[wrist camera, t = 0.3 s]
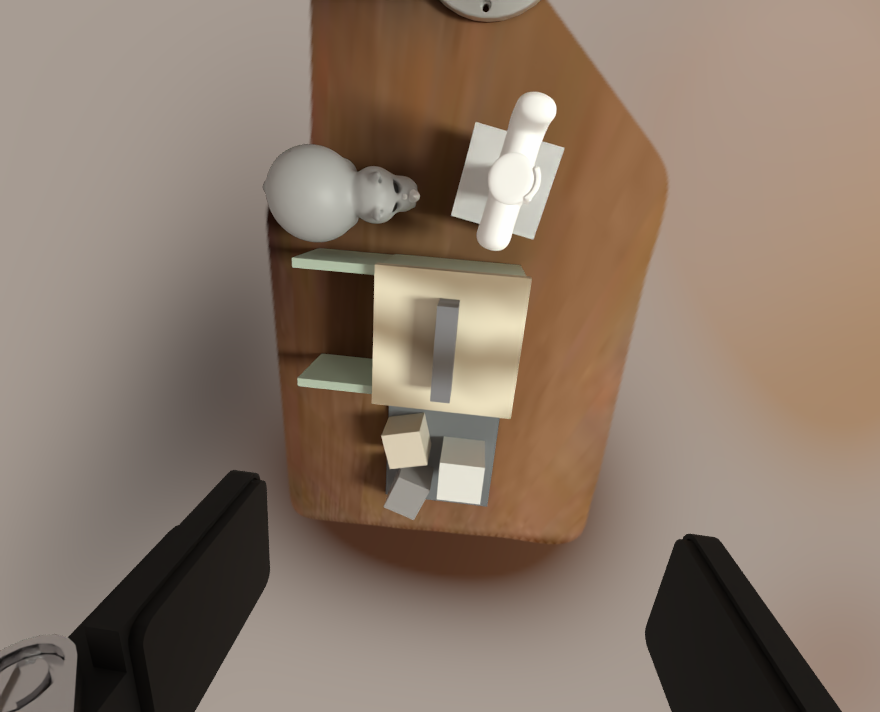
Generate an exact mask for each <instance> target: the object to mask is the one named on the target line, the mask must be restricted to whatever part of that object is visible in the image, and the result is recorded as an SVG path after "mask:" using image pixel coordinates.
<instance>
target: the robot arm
mask: <svg viewBox="0 0 880 712" xmlns="http://www.w3.org/2000/svg"><path fill="white" fill-rule="evenodd" d="M440 1H441V2H442V3H443V4H444V5H445V6H446V7H447V8H449V9H450V10H452V11H453V12H455V13H457V14H458V15H460V16H463V17H466V18H468V19H471V20H475V21H483V22H494V21H503V20H506V19H509V18H512V17H515V16H518V15H520V14H522V13H523V12H525V11H527V10H529V9H530V8H532V7H534V6H535V5H536V4H537V3H538V2H539V1H540V0H440ZM484 6H488V7H489V11H488V12H484V11H483V7H484ZM269 573H270V561H269V536H268V512H267V488H266V483H265V481H262V480H260V477H259V475H258V474H257V473H251V472H245V471H237V470H233V471H230V472H229V473H228V474H227V475H226V476H225V477H224V478H223V479H222V480H221V481H220V482H219V483H218V484H217V485H216V487H215V488H214V489H213V490H212V491H211V492H210V493H209V494H208V495H207V496H206V497H205V498H204V499H203V500H202V501H201V502H200V503H199V504H198V506H197V507H196V508H195V509H194V510H193V511H192V512H191V513H190V514H189V515H188V516H187V517H186V518H185V519H184V520H183V521H182V522H181V524H180V525H178V526H175V527H174V528H173V529H172V530H171V531H169V532H168V533H167V534H166V535H165V537H164V538H163V539H162V540H161V541H160V542H159V543H158V544H157V545H156V546H155V547H154V548H153V549H152V550H151V551H150V552H149V553H148V554H147V555H146V556H145V558H144V559H143V560H142V561H141V562H140V563H139V564H138V565H137V566H136V567H135V568H134V569H133V570H132V571H131V572H130V573H129V574H128V575H127V576H126V577H125V578H124V580H122V582H120V584H119V585H118V586H117V587H116V588H115V589H114V590H113V591H112V592H111V593H110V594H109V595H108V596H107V597H106V598H105V599H104V600H103V601H102V602H101V603H100V604H99V605H98V607H97V608H96V609H95V610H94V611H93V612H92V613H91V614H90V615H89V616H88V617H87V618H86V619H85V620H84V621H83V622H82V623H81V624H80V625H79V626H78V627H77V628H76V630H75V631H74V632H73V633H72V634H71V635H70V636H69V637H64V636H61V635H57V634H52V635H39V636H36V637H32V638H28V639H25V640H22V641H19V642H17V643H15V644H13V645H10V646H8V647H6V648H4V649H2V650H0V712H195V710H196V708H197V707H198V705H199V703H200V701H201V699H202V698H203V696H204V694H205V693H206V691H207V689H208V687H209V685H210V684H211V682H212V680H213V679H214V677H215V675H216V673H217V671H218V670H219V668H220V666H221V664H222V663H223V661H224V659H225V657H226V655H227V654H228V652H229V650H230V649H231V647H232V645H233V643H234V641H235V640H236V638H237V636H238V634H239V633H240V631H241V629H242V627H243V626H244V624H245V622H246V620H247V618H248V617H249V615H250V613H251V611H252V610H253V608H254V606H255V604H256V603H257V601H258V599H259V597H260V596H261V594H262V592H263V590H264V588H265V586H266V584H267V582H268V578H269ZM645 639H646V644H647V647H648V650H649V653H650V655H651V658H652V660H653V663H654V666H655V669H656V671H657V674H658V677H659V679H660V682H661V684H662V687H663V690H664V693H665V695H666V698H667V700H668V703H669V706H670V708H671V711H672V712H842V711H841V710H840V708H839V707H838V706H837V704H836V703H835V701H834V700H833V699H832V697H831V696H830V695H829V693H828V692H827V690H826V689H825V687H824V686H823V685H822V683H821V682H820V680H819V679H818V678H817V676H816V675H815V673H814V672H813V671H812V669H811V668H810V666H809V665H808V663H807V662H806V661H805V659H804V658H803V657H802V655H801V654H800V652H799V651H798V649H797V648H796V647H795V645H794V644H793V642H792V641H791V640H790V638H789V637H788V635H787V634H786V633H785V631H784V630H783V628H782V627H781V626H780V624H779V623H778V621H777V620H776V619H775V617H774V616H773V614H772V613H771V612H770V610H769V609H768V607H767V606H766V604H765V603H764V602H763V600H762V599H761V598H760V596H759V595H758V593H757V592H756V590H755V589H754V588H753V586H752V585H751V584H750V582H749V581H748V579H747V578H746V576H745V575H744V574H743V572H742V571H741V569H740V568H739V567H738V565H737V564H736V562H735V561H734V560H733V558H732V557H731V555H730V554H729V552H728V551H727V550H726V549H725V547H724V546H723V544H722V543H721V542H720V541H719V539H717V538H715V537H709V536H702V535H695V534H686V535H685V536H684V537H683V539H682V540H681V539H679V540H677V541H676V542H675V544H674V547H673V550H672V553H671V556H670V559H669V562H668V565H667V567H666V570H665V573H664V576H663V579H662V582H661V585H660V587H659V590H658V594H657V596H656V599H655V602H654V605H653V608H652V611H651V614H650V617H649V619H648V622H647V625H646V630H645Z"/></svg>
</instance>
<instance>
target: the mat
mask: <svg viewBox="0 0 880 712" xmlns="http://www.w3.org/2000/svg"><path fill="white" fill-rule="evenodd" d="M416 413H425V417H426V421H427V426H428V430H429V435H430V439H431V449H430V454H429V459H428V464H427V465H428V466H430V467H433V468H434V471H433V477H432V482H431V488H430V492H429V493H428V495H427V497H426V499H429V500H437V501H446V500H438V499H437V489H438V478H439V467H440V458H441V452H442V446H443V439H444V436H445V437H454V438H463V439H472V440H481V441H485V471H484V479H483V486H482V494H481V501H480V505H479V504H471V503H463V502H454V501H446V502H454V503H462V504H470V505H478V506H487V503H488V496H489V489H490V482H491V475H492V468H493V461H494V454H495V446H496V439H497V432H498V425H499V418H497V417H488V416H479V415H470V414H461V413H452V412H443V411H434V410H425V409H416V408H407V407H398V406H389V417H392V416H400V415H408V414H416ZM398 469H399V468H396V469H390V467H389V464H388V460H387V472H386V494H388V491H389V488H390V485H391V483H392V481H393V479H394V477H395V475H396V473H397V471H398Z"/></svg>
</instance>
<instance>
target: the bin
mask: <svg viewBox="0 0 880 712" xmlns="http://www.w3.org/2000/svg"><path fill="white" fill-rule="evenodd" d="M376 263H388V264H399V265H410V266H421V267H432V268H443V269H454V270H465V271H476V272H487V273H498V274H508V275H519V276H526V275H525V273H524V271H523V269H522V267H521V265H514V264H503V263H492V262H480V261H469V260H458V259H447V258H436V257H425V256H414V255H403V254H394V255H391V254H380V253H369V252H358V251H347V250H336V249H325V248H318V249H315V250H312V251H309V252H306V253H304V254H301V255H298V256H295V257H292V267H294V268H305V269H316V270H326V271H337V272H348V273H359V274H369V275H374V274H375V264H376ZM372 369H373V359H369V358H360V357H350V356H341V355H331V354H321V355H320V356H319V357H318V358H317V359H316V360H315V361H314V362H313V363H312V364H311V365H310V366H309V367H308V368H307V369H306V370H305V371H304V372H303V373H302V374H301V375H300V376H299V377H298V386H303V387H313V388H322V389H331V390H340V391H349V392H358V393H368V394H372Z"/></svg>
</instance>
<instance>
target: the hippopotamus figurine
mask: <svg viewBox="0 0 880 712" xmlns="http://www.w3.org/2000/svg"><path fill="white" fill-rule="evenodd" d="M263 190H264V192H265V194H266V198H267V202H268V206H269V208H270V210H271V213H272V214H273V216H274V218H275V219H276V221H277V222H278V223H279V224H280V225H281V226H282V227H283V228H284V229H285V230H286V231H287V232H289V233H290V234H292V235H293V236H295V237H297V238H299V239H302V240H305V241H310V242H326V241H330V240H333V239H336V238H338V237H340V236H341V235H343V234H344V233H346V232H347V231H348V230H349V229H350V228H352V227H353V226H354V225H355V224H356V223H357V221H358V219H359V217H360V218H361V219H363V220H365V221H367V222H370V223H384V222H386V221H388V220H390V219H391V218H392V217H393V216H394V215H395V214H396V213H397V212H405V211H408V210H410V209H412V208H414V207H415V206H416V201H418V200H419V199H420V194H419V193H418V190H417V185H416V183H415V182H414V181H413V180H412V179H410V178H409V177H406V176H397V175H394V174H392V173H390V172H389V171H387V170H385V169H383V168H381V167H378V166H369V167H366V168H364V169H362V170H361V171H359V172H357V170H356V167H355V166H354V164H353V163H352V162H351V161H350V160H348V159H346V158H343V157H341V156H340V155H339V154H337V153H336V152H334V151H333V150H331V149H329V148H326V147H323V146H320V145H314V144H304V145H298V146H295V147H292V148H290V149H288V150H286V151H285V152H283V153H282V154H281V155H280V156H278V158H277V159H276V160H275V161H274V163H273V164H272V166H271V167H270V170H269V172H268V175H267V179H266V181H265V182H264V184H263Z"/></svg>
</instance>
